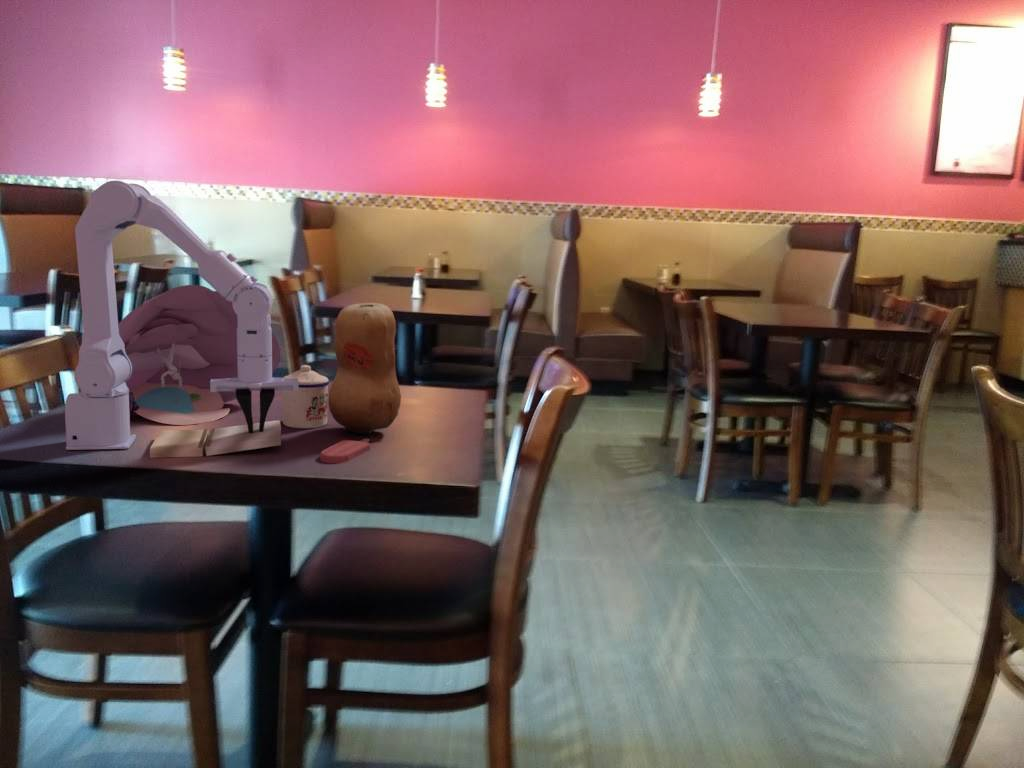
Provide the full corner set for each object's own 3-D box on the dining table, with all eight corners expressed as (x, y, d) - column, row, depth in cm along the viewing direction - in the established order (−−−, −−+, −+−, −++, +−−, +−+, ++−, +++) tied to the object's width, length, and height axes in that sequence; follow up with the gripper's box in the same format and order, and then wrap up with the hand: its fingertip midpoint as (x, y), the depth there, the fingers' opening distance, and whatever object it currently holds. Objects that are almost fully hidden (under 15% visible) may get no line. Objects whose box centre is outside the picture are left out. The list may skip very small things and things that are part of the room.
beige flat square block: (206, 455, 130) (204, 446, 130) (212, 437, 141) (210, 428, 141) (281, 445, 133) (279, 436, 133) (280, 427, 144) (279, 419, 144)
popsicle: (381, 437, 144) (342, 457, 129) (380, 445, 144) (342, 466, 130) (354, 433, 145) (313, 453, 131) (354, 441, 145) (313, 462, 131)
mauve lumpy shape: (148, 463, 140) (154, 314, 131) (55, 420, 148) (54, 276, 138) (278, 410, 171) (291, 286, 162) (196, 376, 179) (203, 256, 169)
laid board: (150, 457, 127) (149, 448, 127) (160, 438, 139) (160, 429, 138) (202, 456, 130) (202, 447, 129) (208, 437, 141) (208, 429, 141)
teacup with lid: (312, 431, 150) (312, 371, 147) (271, 425, 152) (271, 366, 150) (344, 419, 161) (345, 363, 159) (306, 413, 164) (306, 358, 161)
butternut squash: (316, 437, 145) (318, 303, 141) (342, 421, 158) (344, 298, 154) (388, 444, 144) (392, 308, 139) (408, 427, 157) (412, 303, 152)
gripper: (207, 358, 129) (210, 438, 131) (298, 358, 133) (299, 435, 136) (211, 352, 136) (213, 428, 138) (297, 352, 140) (298, 425, 142)
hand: (256, 431), depth 137 cm, fingers closed, pressing on beige flat square block
